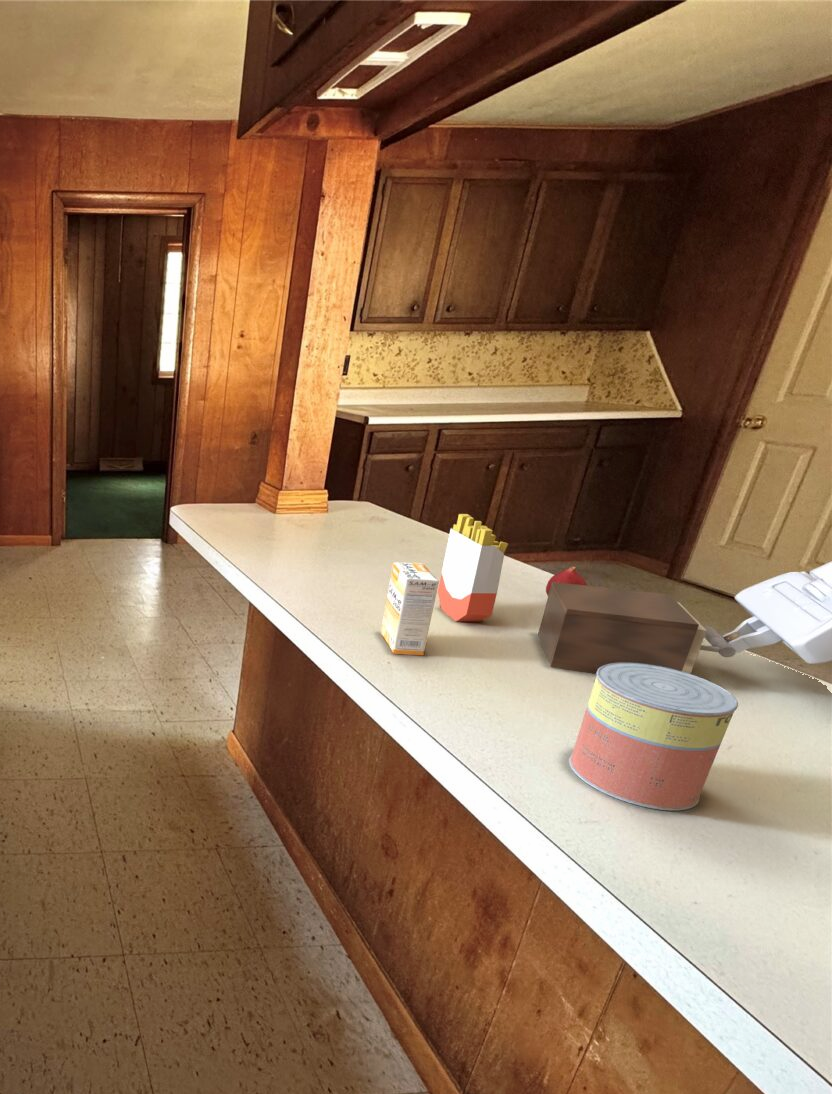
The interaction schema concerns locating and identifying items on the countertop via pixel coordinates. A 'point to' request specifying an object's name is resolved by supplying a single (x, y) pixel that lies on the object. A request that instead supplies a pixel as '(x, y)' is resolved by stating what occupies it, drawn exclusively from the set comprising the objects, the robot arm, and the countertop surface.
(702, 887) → the countertop surface
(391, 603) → the supplement box
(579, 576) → the onion
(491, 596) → the french fries container
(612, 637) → the cabinet
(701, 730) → the canned food
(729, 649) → the drawer
